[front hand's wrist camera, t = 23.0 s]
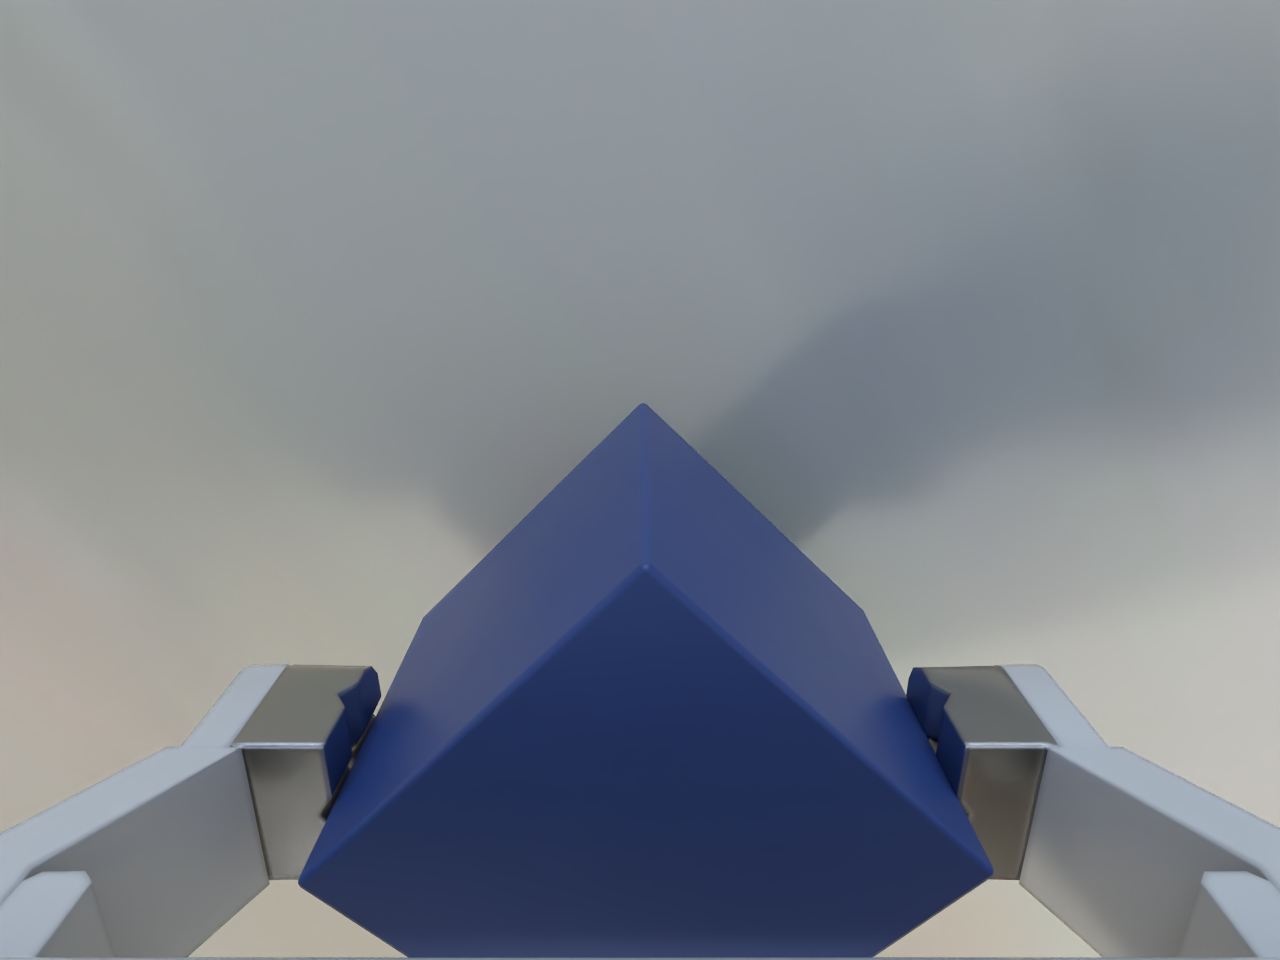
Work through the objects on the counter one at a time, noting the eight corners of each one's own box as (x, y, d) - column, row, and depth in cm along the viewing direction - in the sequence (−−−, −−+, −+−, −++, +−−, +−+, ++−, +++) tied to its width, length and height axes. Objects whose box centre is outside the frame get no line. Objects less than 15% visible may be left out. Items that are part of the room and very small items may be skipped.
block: (643, 792, 14) (644, 1114, 9) (421, 617, 12) (292, 886, 8) (864, 610, 12) (1000, 875, 8) (643, 399, 11) (645, 562, 7)
